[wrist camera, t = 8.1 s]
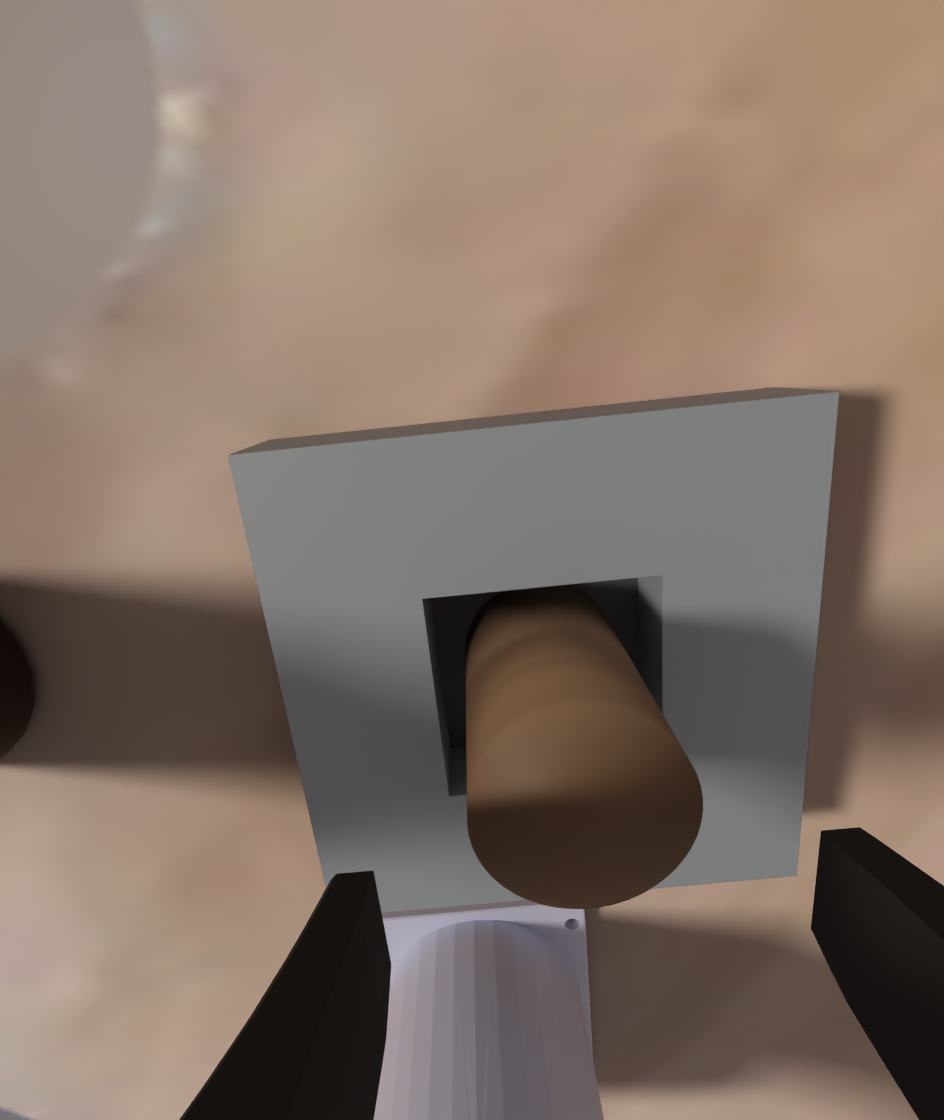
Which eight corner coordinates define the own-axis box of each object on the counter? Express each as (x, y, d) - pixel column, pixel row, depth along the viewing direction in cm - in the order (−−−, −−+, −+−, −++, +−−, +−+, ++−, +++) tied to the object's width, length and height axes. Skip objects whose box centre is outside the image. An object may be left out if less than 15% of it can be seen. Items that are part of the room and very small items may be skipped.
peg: (610, 709, 18) (695, 903, 12) (469, 717, 18) (473, 914, 12) (614, 576, 17) (711, 708, 10) (461, 584, 17) (459, 721, 10)
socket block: (750, 805, 21) (796, 875, 18) (350, 841, 21) (332, 917, 18) (773, 387, 16) (839, 391, 13) (268, 440, 16) (228, 455, 14)
